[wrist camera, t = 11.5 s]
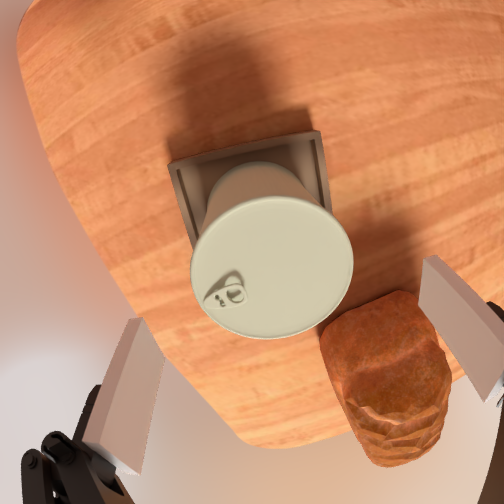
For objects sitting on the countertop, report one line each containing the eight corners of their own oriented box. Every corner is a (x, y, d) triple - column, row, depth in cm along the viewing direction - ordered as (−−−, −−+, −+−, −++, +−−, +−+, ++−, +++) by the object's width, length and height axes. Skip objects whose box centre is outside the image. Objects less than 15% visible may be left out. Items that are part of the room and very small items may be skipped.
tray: (172, 161, 24) (167, 164, 22) (313, 129, 24) (320, 130, 22) (209, 282, 30) (208, 294, 28) (331, 256, 29) (337, 266, 27)
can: (189, 188, 25) (154, 245, 14) (286, 144, 24) (328, 166, 13) (234, 272, 29) (235, 363, 18) (322, 234, 27) (371, 309, 17)
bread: (411, 275, 31) (484, 363, 17) (419, 386, 42) (451, 451, 28) (307, 324, 33) (341, 438, 19) (349, 417, 44) (371, 489, 30)
